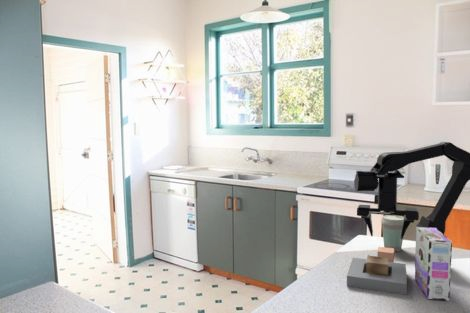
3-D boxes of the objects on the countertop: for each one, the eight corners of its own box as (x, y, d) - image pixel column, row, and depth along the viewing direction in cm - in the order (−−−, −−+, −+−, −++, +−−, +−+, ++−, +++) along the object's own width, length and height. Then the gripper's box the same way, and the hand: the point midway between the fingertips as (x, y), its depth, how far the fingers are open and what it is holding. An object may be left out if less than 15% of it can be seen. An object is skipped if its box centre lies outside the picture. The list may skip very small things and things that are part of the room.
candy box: (450, 301, 103) (453, 241, 101) (426, 299, 104) (428, 240, 102) (434, 280, 116) (436, 226, 115) (413, 279, 117) (415, 226, 116)
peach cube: (393, 262, 131) (394, 248, 130) (393, 268, 126) (393, 253, 126) (377, 260, 133) (378, 246, 132) (377, 266, 128) (377, 251, 128)
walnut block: (388, 273, 119) (388, 257, 119) (387, 281, 114) (388, 264, 113) (367, 270, 121) (367, 255, 121) (366, 278, 116) (366, 262, 115)
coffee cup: (402, 254, 138) (403, 221, 137) (378, 250, 143) (378, 218, 142) (407, 247, 146) (407, 216, 144) (383, 243, 150) (384, 213, 149)
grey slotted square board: (405, 273, 122) (405, 263, 121) (406, 294, 107) (406, 284, 107) (352, 266, 128) (352, 257, 128) (346, 285, 113) (346, 275, 113)
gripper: (417, 188, 131) (416, 233, 132) (360, 185, 138) (359, 228, 140) (419, 194, 121) (418, 243, 122) (357, 191, 128) (356, 237, 129)
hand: (386, 237), depth 129 cm, fingers open, 9 cm apart
